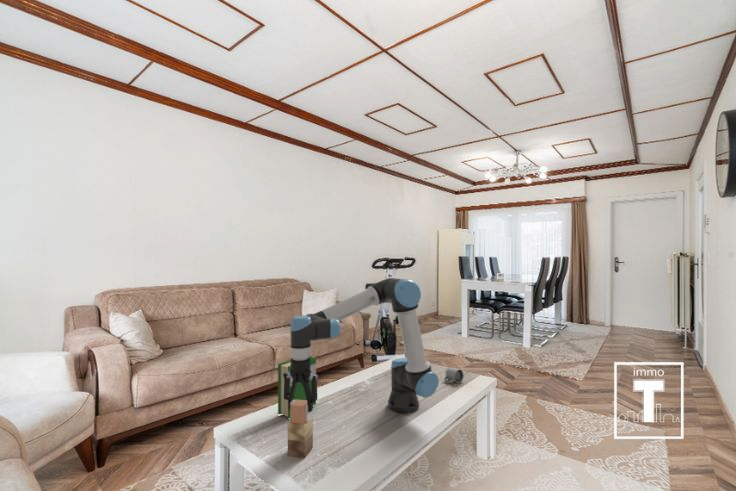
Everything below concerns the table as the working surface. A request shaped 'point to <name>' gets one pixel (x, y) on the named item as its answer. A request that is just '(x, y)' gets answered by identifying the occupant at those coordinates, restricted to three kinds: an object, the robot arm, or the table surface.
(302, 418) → the terracotta block
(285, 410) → the hardback book
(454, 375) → the ceramic mug
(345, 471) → the table surface
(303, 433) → the oak middle block
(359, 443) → the table surface
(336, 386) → the table surface
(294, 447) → the walnut base block
